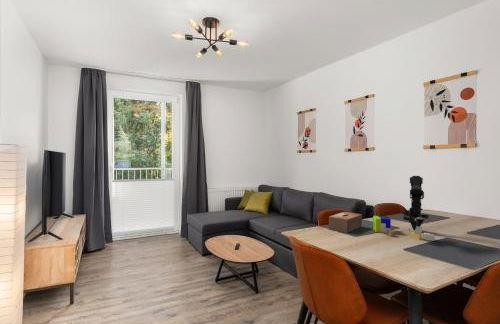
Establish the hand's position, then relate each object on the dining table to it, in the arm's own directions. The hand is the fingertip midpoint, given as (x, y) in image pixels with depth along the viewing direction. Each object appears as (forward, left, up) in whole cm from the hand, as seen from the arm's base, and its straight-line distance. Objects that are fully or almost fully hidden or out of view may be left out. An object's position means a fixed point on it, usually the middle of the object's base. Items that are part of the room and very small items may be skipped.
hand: (415, 229), depth 193 cm
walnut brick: (+9, -13, -6) cm, 17 cm away
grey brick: (-6, +5, -6) cm, 10 cm away
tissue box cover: (+22, -42, -6) cm, 48 cm away
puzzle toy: (+4, -24, -6) cm, 25 cm away
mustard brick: (0, 0, -6) cm, 6 cm away
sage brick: (0, 0, -1) cm, 1 cm away
